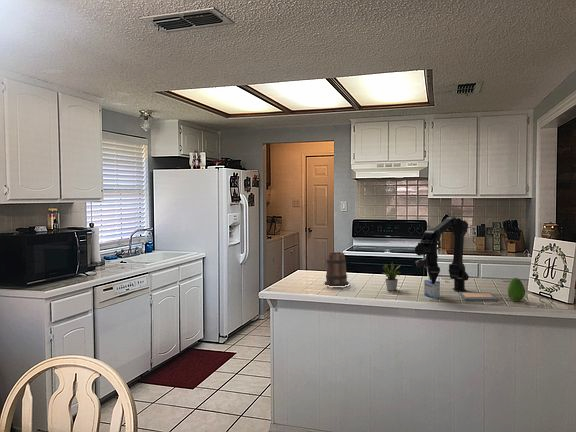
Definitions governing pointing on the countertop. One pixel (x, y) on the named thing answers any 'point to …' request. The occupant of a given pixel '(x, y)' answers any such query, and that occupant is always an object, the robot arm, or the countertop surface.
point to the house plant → (391, 277)
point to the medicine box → (431, 289)
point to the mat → (477, 296)
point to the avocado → (516, 290)
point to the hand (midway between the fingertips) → (432, 282)
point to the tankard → (336, 269)
